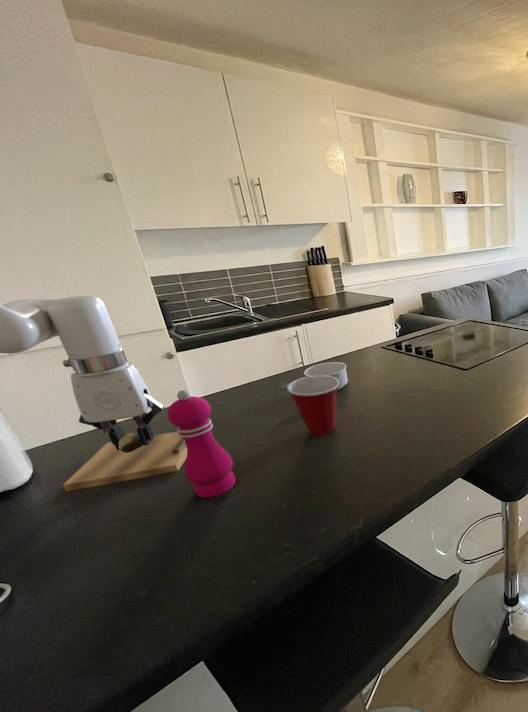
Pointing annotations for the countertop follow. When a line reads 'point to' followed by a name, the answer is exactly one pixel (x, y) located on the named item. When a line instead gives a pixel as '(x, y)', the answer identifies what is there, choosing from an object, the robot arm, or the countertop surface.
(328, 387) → the plastic cup
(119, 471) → the serving board
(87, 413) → the robot arm
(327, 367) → the saucepan
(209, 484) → the pepper mill
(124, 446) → the brown rounded domed piece
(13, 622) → the countertop surface
